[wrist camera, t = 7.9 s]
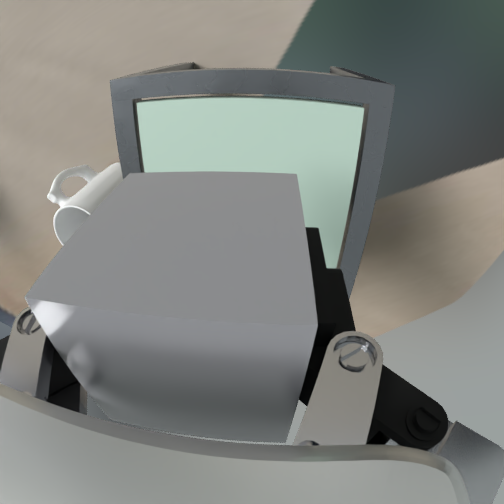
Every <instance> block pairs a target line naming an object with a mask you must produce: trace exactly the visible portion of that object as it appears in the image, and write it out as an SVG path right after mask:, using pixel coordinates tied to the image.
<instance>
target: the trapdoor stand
mask: <svg viewBox="0 0 504 504" xmlns="http://www.w3.org/2000/svg"><path fill="white" fill-rule="evenodd" d="M110 87H111V97H112V107H113V116H114V124H115V131H116V139H117V146H118V152H119V159H120V165H121V171H122V176H123V179H124V178H125V177H126V176H127V175H128V174H129V173H145V172H144V165H143V157H142V149H141V141H140V133H139V123H138V113H137V103H138V102H140V101H142V100H141V98H148V97H159V96H172V95H188V94H219V93H244V94H277V95H292V96H307V97H316V98H326V99H335V100H343V101H350V102H357V103H363V108H364V115H363V123H362V130H361V138H360V145H359V151H358V158H357V164H356V170H355V176H354V182H353V188H352V194H351V199H350V205H349V210H348V215H347V220H346V225H345V230H344V235H343V240H342V244H341V249H340V253H339V258H338V262H337V267H336V268H338V269H341V270H342V272H343V276H344V280H345V285H346V289H347V293H348V298H350V295H351V291H352V288H353V285H354V281H355V278H356V275H357V271H358V268H359V264H360V260H361V257H362V253H363V249H364V246H365V242H366V238H367V234H368V230H369V226H370V222H371V218H372V213H373V209H374V205H375V200H376V195H377V191H378V186H379V182H380V177H381V171H382V167H383V161H384V155H385V150H386V145H387V139H388V133H389V127H390V120H391V113H392V106H393V99H394V90H395V85H392V84H390V83H387V82H384V81H381V80H379V79H376V78H373V77H370V76H367V75H364V74H361V73H358V72H355V71H352V70H348V69H345V68H340V67H332V66H331V67H330V73H321V72H312V71H300V70H286V69H285V70H284V69H265V68H214V69H194V62H192V63H180V64H175V65H170V66H165V67H160V68H156V69H151V70H147V71H143V72H139V73H135V74H131V75H127V76H124V77H120V78H117V79H113V80H110Z"/></svg>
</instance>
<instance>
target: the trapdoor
mask: <svg viewBox="0 0 504 504" xmlns="http://www.w3.org/2000/svg"><path fill="white" fill-rule="evenodd" d="M137 113H138V123H139V133H140V141H141V149H142V157H143V165H144V172H145V173H149V172H196V171H217V172H266V173H289V174H297V178H298V184H299V190H300V196H301V202H302V209H303V215H304V221H305V227H317V228H319V233H320V237H321V242H322V247H323V252H324V257H325V262H326V268H336V267H337V262H338V258H339V253H340V249H341V244H342V240H343V235H344V230H345V225H346V220H347V215H348V210H349V205H350V199H351V194H352V188H353V182H354V176H355V170H356V164H357V158H358V151H359V145H360V138H361V130H362V123H363V115H364V108H363V107H362V106H361V105H355V104H348V103H340V102H331V101H322V100H312V99H300V98H286V97H285V98H284V97H266V96H196V97H176V98H162V99H150V100H142V101H140V102H138V103H137Z"/></svg>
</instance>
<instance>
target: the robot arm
mask: <svg viewBox="0 0 504 504" xmlns="http://www.w3.org/2000/svg"><path fill="white" fill-rule="evenodd" d="M305 228H306V235H307V242H308V249H309V256H310V264H311V271H312V279H313V287H314V295H315V304H316V312H317V322H318V327H317V331H316V336H315V340H314V344H313V348H312V352H311V356H310V360H309V363H308V367H307V371H306V375H305V378H304V382H303V386H302V389H301V393H300V396H299V400H300V401H301V402H303V403H304V404H305V405H306V406H307V409H306V411H305V414H304V417H303V419H302V422H301V425H300V427H299V430H298V432H297V435H296V437H295V440H294V442H293V445H291V446H290V445H264V444H263V445H262V444H245V443H233V442H221V441H212V440H204V439H196V438H190V437H183V436H177V435H171V434H165V433H159V432H154V431H149V430H144V429H139V428H135V427H130V426H126V425H122V424H117V423H114V422H110V421H106V420H102V419H99V418H95V417H91V416H88V415H87V391H86V390H85V389H84V387H83V386H82V385H81V383H80V382H79V381H78V380H77V378H76V377H75V376H74V374H73V373H72V371H71V370H70V369H69V367H68V366H67V365H66V363H65V362H64V360H63V359H62V357H61V356H60V354H59V353H58V352H57V350H56V349H55V347H54V346H53V344H52V342H51V341H50V339H49V338H48V336H47V335H46V333H45V332H44V330H43V328H42V327H41V325H40V323H39V322H38V320H37V318H36V317H35V315H34V313H33V312H32V310H31V308H30V306H29V307H27V308H26V309H24V310H23V311H22V312H20V313H19V315H18V316H17V317H16V319H15V321H14V323H13V327H12V330H11V333H10V335H9V336H7V337H5V338H3V339H1V340H0V504H492V503H493V500H494V498H495V496H496V494H497V491H498V489H499V487H500V484H501V482H502V480H503V477H504V450H503V449H502V448H501V447H500V446H499V445H497V444H495V443H494V442H492V441H490V440H488V439H487V438H485V437H483V436H481V435H480V434H478V433H476V432H475V431H473V430H471V429H470V428H468V427H466V426H464V425H463V424H461V423H459V422H457V421H455V422H454V423H452V422H450V421H449V420H448V418H447V414H446V412H445V411H444V409H443V407H442V406H441V405H440V404H438V403H437V402H436V401H435V400H433V399H432V398H430V397H429V396H427V395H426V394H424V393H423V392H422V391H420V390H419V389H417V388H416V387H414V386H413V385H411V384H410V383H409V382H407V381H405V380H404V379H403V378H401V377H400V376H398V375H397V374H395V373H394V372H392V371H391V370H390V369H388V368H387V367H385V366H384V365H383V352H382V350H381V347H380V345H379V344H378V343H377V342H376V341H375V339H373V338H372V337H370V336H369V335H367V334H364V333H362V332H356V330H355V325H354V321H353V316H352V311H351V307H350V302H349V298H348V293H347V289H346V285H345V280H344V276H343V272H342V270H341V269H338V268H326V262H325V257H324V252H323V247H322V242H321V237H320V233H319V228H317V227H305Z"/></svg>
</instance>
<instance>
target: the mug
mask: <svg viewBox="0 0 504 504" xmlns="http://www.w3.org/2000/svg"><path fill="white" fill-rule="evenodd" d="M72 176H79V177H82V178H84V179H85V180H86V181H87V182H88V184H87V185H86V186H85V187H83V188H82V189H81V190H80V191H79V192H78V193H76V194H75V195H74V196H72V197H68V196H66V195H65V194H64V193H63V192H62V190H61V184H62V182H63V181H64V180H65V179H67V178H69V177H72ZM122 180H123V176H122V171H121V165H120V163H114V164H112V165H110V166H109V167H107V168H106V169H105V170H104V171H102V172H100V173H97V172H95V171H94V170H93V169H91V168H90V167H89V166H88V165H81V166H76V167H72V168H68V169H66V170H64V171H62V172H60V173H59V174H58V175H57V176H56V178H55V179H54V181H53V184H52V186H51V190H50V192H49V194H48V196H47V198H48V199H49V200H51V201H52V202H53V203H58V204H59V205H60V207H61V208H60V209H58V210H57V212H56V213H55V216H54V222H53V223H54V230H55V233H56V235H57V238H58V239H59V241H60V242H61V244H62V245H63V246H64V244H65V243H66V242H67V241H68V240H69V238H70V237H71V236H72V235H73V234H74V233H75V231H76V230H77V229H78V228H79V227H80V226H81V224H82V223H83V222H84V221H85V220H86V219H87V218H88V216H89V215H90V214H91V213H92V212H93V211H94V210H95V209H96V208H97V207H98V205H99V204H100V203H101V202H102V201H103V200H104V199H105V198H106V197H107V196H108V195H109V194H110V193H111V192H112V191H113V190H114V188H115V187H116V186H117V185H118V184H119V183H120V182H121V181H122Z"/></svg>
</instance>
